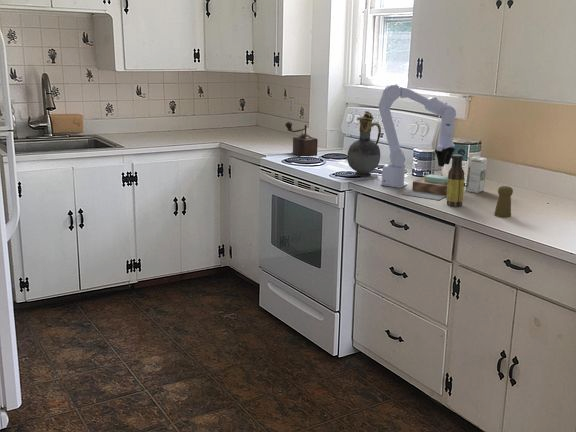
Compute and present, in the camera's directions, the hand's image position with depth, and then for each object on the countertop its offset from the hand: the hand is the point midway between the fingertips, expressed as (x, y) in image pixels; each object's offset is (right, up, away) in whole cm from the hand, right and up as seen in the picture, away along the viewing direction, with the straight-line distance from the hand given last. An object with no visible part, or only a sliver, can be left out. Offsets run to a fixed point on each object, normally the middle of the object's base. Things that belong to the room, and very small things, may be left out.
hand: (443, 165), depth 277 cm
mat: (-11, -14, -12) cm, 21 cm away
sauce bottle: (-3, -18, -27) cm, 32 cm away
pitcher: (-31, -3, +26) cm, 40 cm away
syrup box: (+13, -12, -3) cm, 17 cm away
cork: (+12, -22, -41) cm, 48 cm away
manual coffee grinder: (-61, +11, +75) cm, 97 cm away
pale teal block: (-4, -7, -4) cm, 9 cm away
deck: (-5, -11, -4) cm, 13 cm away
